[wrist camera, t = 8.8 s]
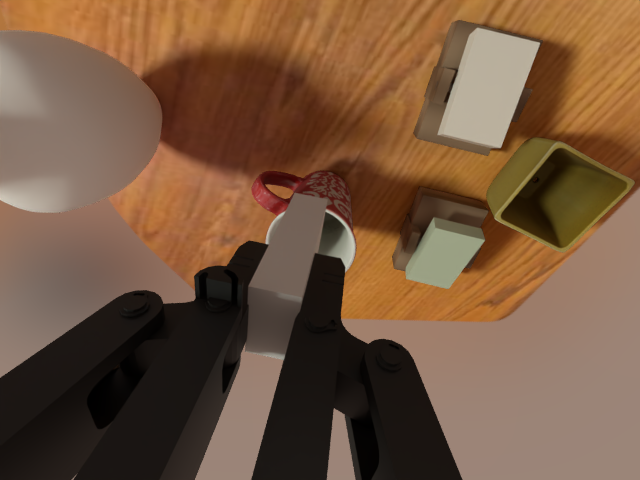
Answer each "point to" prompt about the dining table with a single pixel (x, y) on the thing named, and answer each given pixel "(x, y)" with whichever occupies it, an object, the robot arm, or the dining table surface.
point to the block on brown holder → (444, 82)
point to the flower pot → (554, 192)
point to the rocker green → (443, 252)
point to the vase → (70, 123)
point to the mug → (337, 216)
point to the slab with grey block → (439, 207)
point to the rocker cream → (487, 87)
